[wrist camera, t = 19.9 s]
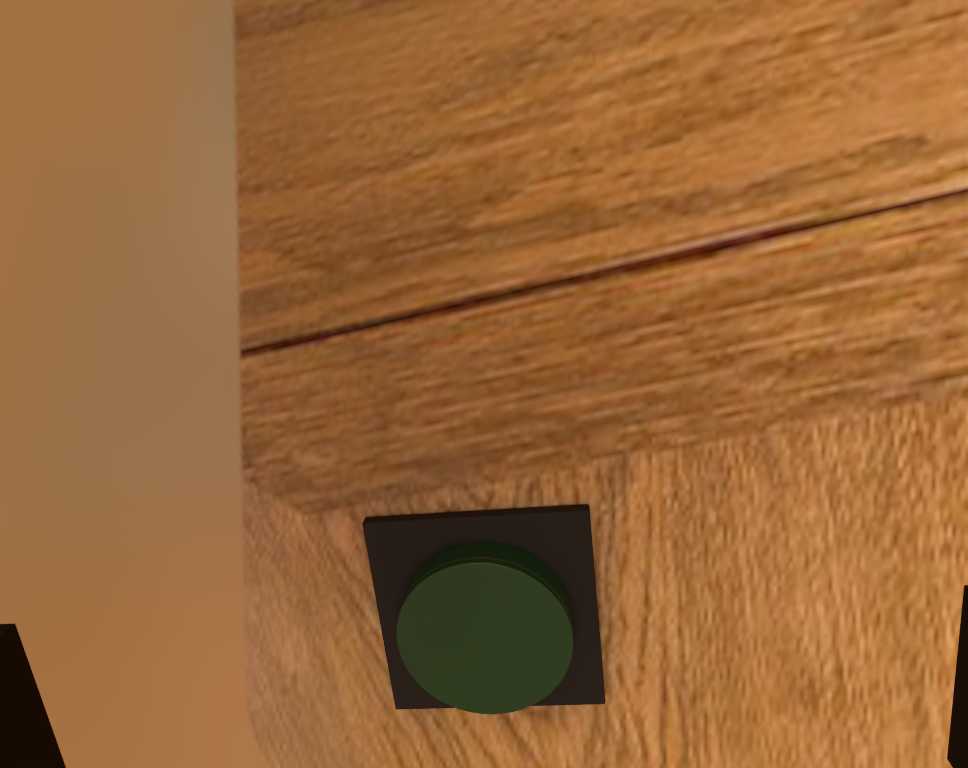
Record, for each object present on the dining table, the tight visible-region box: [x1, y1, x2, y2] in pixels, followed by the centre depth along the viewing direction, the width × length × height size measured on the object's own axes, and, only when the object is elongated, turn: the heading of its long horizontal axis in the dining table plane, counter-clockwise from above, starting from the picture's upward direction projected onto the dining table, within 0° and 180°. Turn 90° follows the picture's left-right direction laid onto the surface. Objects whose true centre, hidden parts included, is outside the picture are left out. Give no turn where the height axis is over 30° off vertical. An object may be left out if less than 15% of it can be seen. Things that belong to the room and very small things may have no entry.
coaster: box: [363, 504, 605, 709], centre depth 34 cm, size 10×10×1 cm
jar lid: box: [396, 542, 573, 714], centre depth 33 cm, size 8×8×2 cm
